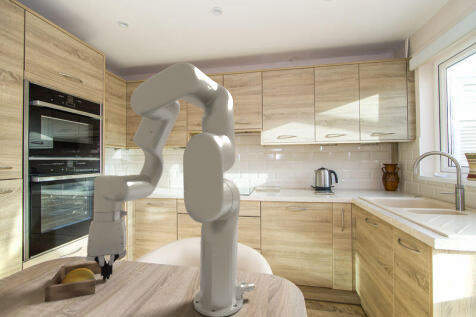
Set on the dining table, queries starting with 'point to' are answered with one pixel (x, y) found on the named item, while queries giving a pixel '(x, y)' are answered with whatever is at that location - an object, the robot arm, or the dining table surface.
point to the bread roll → (78, 275)
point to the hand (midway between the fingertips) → (106, 277)
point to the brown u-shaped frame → (74, 288)
